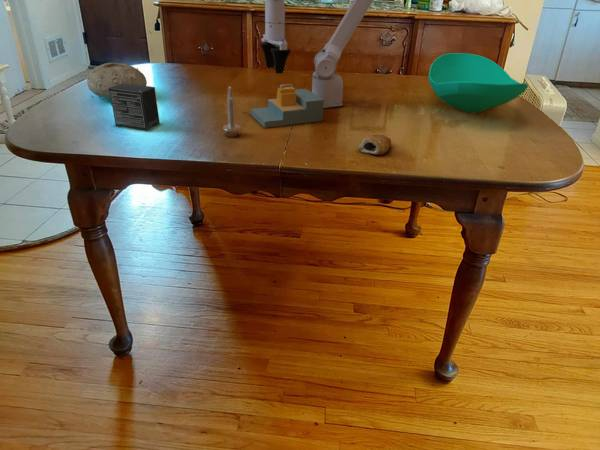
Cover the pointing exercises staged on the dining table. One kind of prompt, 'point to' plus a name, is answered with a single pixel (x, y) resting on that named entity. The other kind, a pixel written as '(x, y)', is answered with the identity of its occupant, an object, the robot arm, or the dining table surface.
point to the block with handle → (286, 95)
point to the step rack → (291, 111)
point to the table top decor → (472, 82)
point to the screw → (231, 116)
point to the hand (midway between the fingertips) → (274, 70)
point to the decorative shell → (113, 77)
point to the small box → (134, 106)
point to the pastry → (375, 144)
